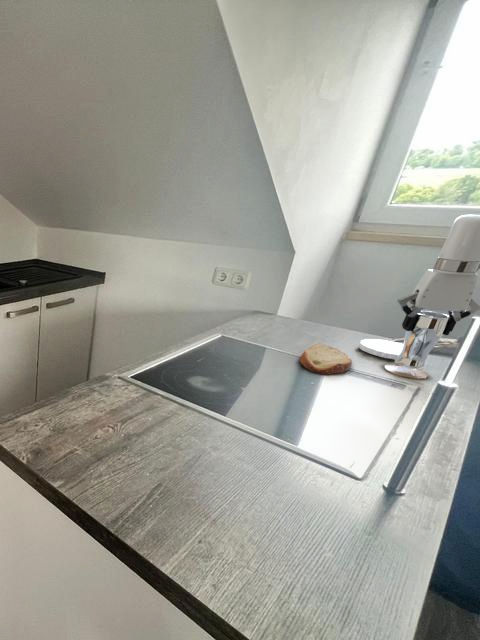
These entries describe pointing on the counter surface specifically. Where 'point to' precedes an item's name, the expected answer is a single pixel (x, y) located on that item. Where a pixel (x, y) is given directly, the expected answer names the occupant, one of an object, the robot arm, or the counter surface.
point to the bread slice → (325, 360)
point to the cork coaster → (405, 371)
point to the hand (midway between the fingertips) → (424, 331)
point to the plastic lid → (381, 347)
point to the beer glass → (422, 339)
